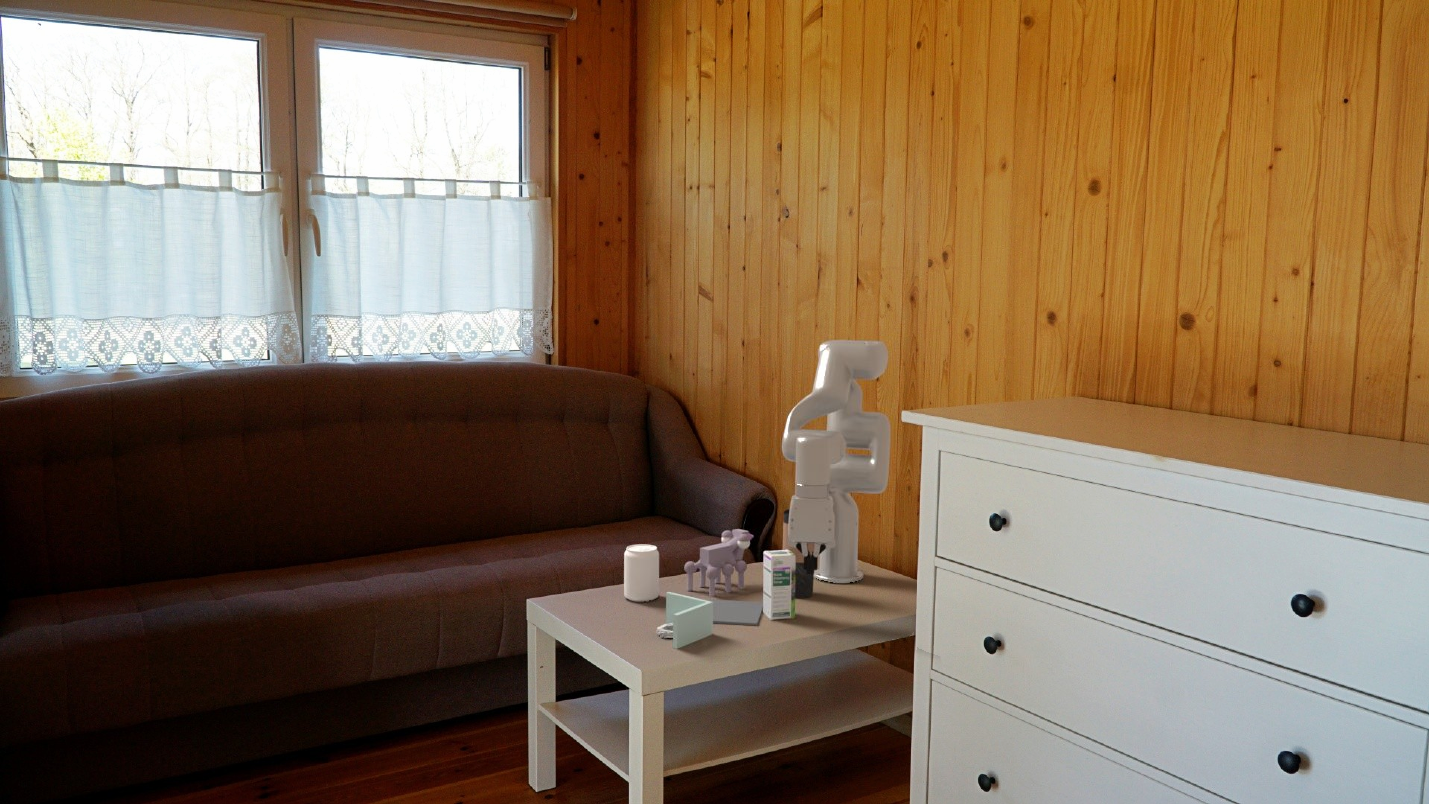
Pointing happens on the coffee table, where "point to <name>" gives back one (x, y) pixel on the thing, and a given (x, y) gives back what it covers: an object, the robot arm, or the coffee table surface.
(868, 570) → the coffee table surface
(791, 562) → the syrup box
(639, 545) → the beverage can
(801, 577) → the travel mug
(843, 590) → the coffee table surface
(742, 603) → the mat
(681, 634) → the right angle wall
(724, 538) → the lavender lumpy figurine
